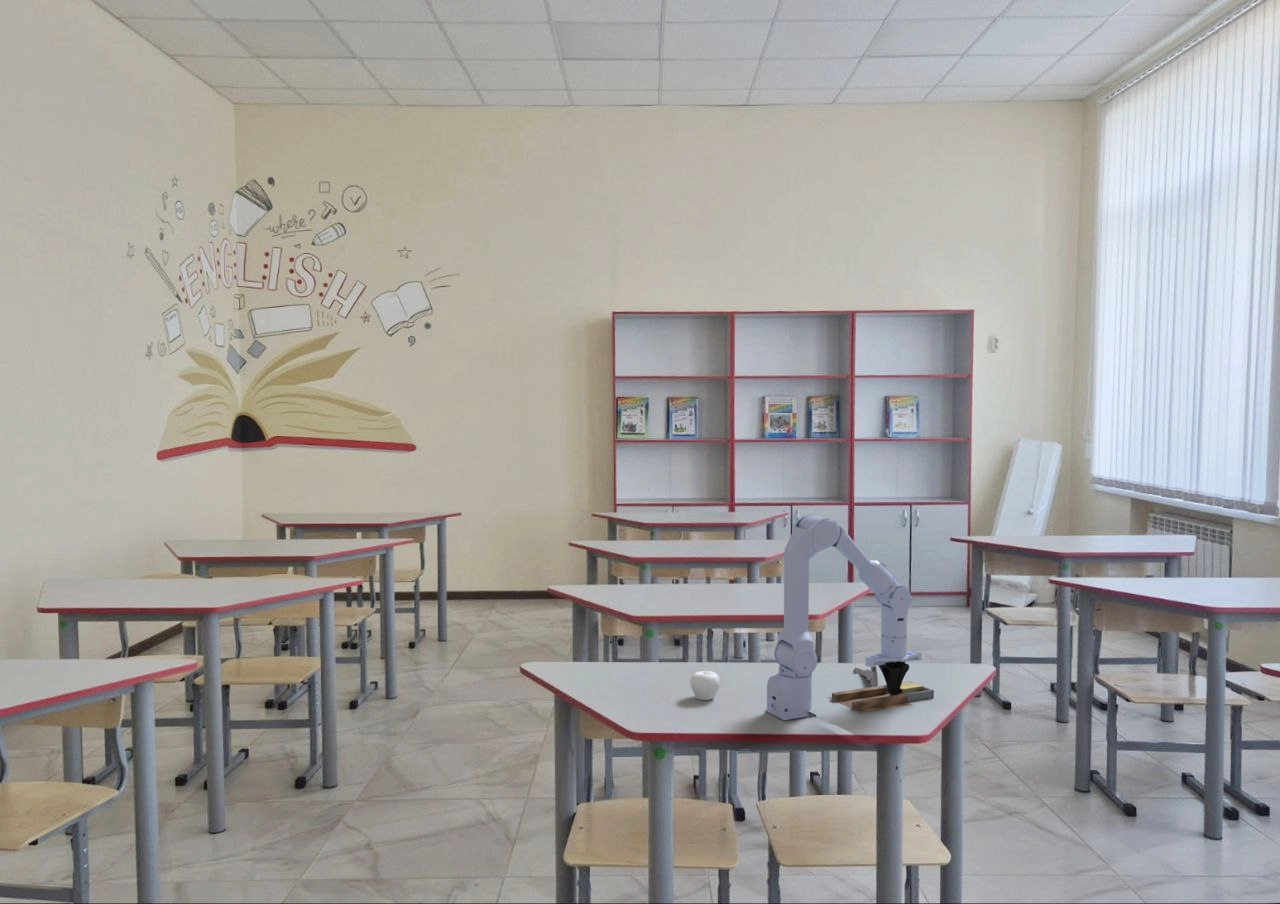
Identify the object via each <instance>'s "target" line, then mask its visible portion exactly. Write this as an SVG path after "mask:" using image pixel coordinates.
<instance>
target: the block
mask: <svg viewBox="0 0 1280 904" xmlns="http://www.w3.org/2000/svg"><path fill="white" fill-rule="evenodd" d="M923 686H924V685H921V684H918V683H915V682H913V681H906V683H903V682H902V684H901V687H900V691H899V694H907V693H914V692H920V691H923Z"/></svg>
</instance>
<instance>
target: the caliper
mask: <svg viewBox="0 0 1280 904" xmlns="http://www.w3.org/2000/svg"><path fill="white" fill-rule="evenodd" d="M853 671H854V673H856V674H857V675H858V674H861V676H863V677H866V681H868V682H869V683H870V687H875V686H879V680H878V679H879V678H878V677H879V676H878V671H877V666H874V667H870V668H868V669H866V668H862V667H860V666H859V667H854V668H853Z"/></svg>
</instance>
